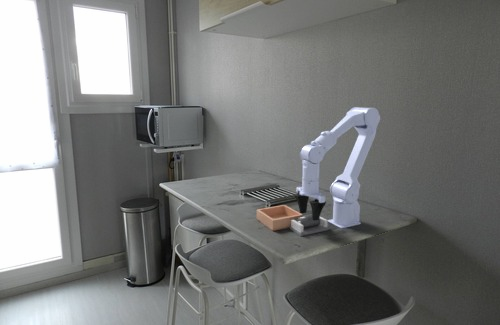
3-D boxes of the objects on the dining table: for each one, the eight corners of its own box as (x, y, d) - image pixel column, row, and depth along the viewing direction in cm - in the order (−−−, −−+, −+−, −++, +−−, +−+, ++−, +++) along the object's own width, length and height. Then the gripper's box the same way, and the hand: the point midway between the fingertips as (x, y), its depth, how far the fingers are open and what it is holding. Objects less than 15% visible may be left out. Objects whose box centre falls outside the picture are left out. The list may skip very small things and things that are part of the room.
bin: (284, 214, 135) (284, 204, 134) (302, 224, 123) (302, 214, 123) (256, 219, 129) (256, 209, 128) (272, 231, 118) (272, 220, 117)
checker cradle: (316, 223, 125) (317, 214, 124) (328, 229, 119) (329, 220, 118) (289, 229, 120) (289, 219, 119) (300, 236, 114) (300, 226, 113)
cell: (314, 224, 122) (313, 213, 122) (320, 226, 119) (320, 215, 119) (296, 227, 119) (295, 216, 119) (302, 229, 115) (301, 218, 115)
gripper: (289, 176, 120) (288, 211, 123) (313, 185, 107) (312, 225, 110) (305, 174, 123) (304, 209, 126) (331, 183, 110) (329, 221, 113)
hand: (309, 216), depth 118 cm, fingers open, 7 cm apart
